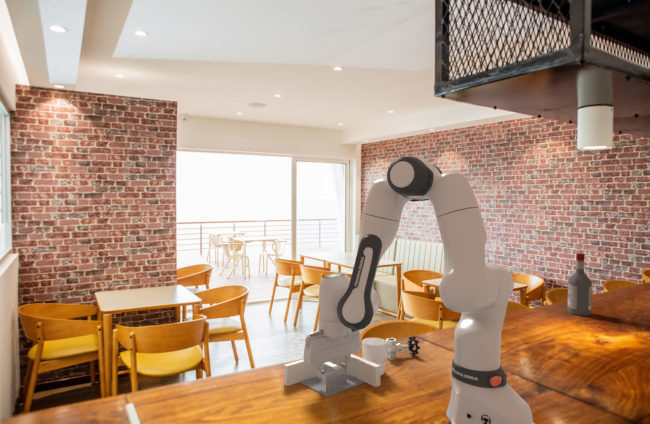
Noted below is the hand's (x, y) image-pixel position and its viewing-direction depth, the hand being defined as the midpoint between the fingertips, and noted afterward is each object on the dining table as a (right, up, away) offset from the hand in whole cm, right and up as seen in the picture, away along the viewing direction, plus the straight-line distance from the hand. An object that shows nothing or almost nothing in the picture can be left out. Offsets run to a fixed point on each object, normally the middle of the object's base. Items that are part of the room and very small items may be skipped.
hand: (332, 372), depth 131 cm
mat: (0, -3, 0) cm, 3 cm away
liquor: (+125, -3, +87) cm, 153 cm away
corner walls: (0, -3, -1) cm, 3 cm away
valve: (+25, -3, +24) cm, 34 cm away
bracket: (-1, -3, -2) cm, 3 cm away
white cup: (+13, -3, +9) cm, 16 cm away
